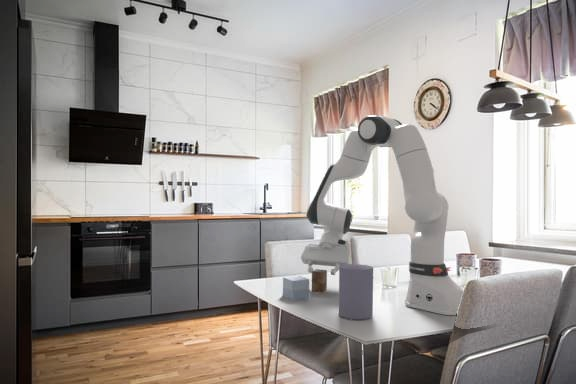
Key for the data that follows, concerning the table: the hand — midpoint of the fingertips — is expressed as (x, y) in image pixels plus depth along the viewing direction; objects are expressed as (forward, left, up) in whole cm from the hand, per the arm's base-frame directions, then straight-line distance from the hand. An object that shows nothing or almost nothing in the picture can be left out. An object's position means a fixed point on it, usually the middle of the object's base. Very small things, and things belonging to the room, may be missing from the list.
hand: (321, 273), depth 166 cm
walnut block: (-1, +2, -7) cm, 7 cm away
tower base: (-5, +15, -7) cm, 17 cm away
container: (-34, +12, -7) cm, 37 cm away
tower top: (-5, +15, -3) cm, 16 cm away
